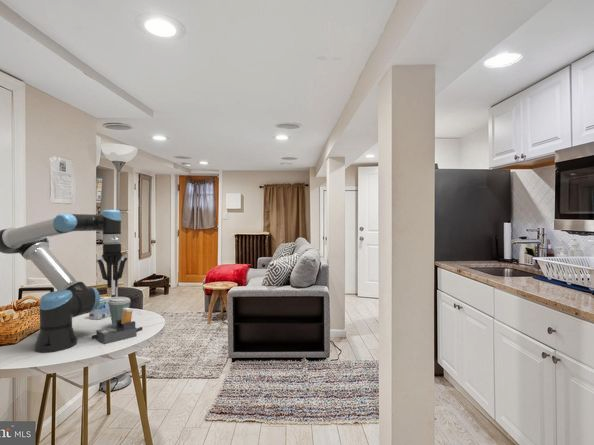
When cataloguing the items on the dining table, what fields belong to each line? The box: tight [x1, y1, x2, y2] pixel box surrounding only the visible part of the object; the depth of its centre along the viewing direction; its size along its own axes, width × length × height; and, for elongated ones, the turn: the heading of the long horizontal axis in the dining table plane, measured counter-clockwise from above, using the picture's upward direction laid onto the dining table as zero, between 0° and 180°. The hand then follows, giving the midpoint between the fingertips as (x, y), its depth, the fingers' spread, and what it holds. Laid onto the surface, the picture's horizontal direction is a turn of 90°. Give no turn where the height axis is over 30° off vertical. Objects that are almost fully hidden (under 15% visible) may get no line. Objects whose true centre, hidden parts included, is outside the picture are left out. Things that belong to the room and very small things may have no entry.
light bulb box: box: [88, 296, 113, 321], centre depth 203 cm, size 11×7×11 cm, turn 164°
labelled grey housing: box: [95, 319, 138, 345], centre depth 166 cm, size 14×10×7 cm
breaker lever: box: [121, 307, 133, 326], centre depth 170 cm, size 2×6×8 cm, turn 48°
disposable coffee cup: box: [108, 296, 131, 327], centre depth 184 cm, size 11×11×15 cm
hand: (112, 294), depth 165 cm, fingers closed
